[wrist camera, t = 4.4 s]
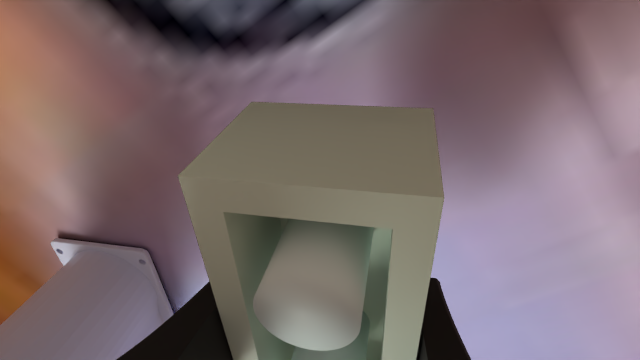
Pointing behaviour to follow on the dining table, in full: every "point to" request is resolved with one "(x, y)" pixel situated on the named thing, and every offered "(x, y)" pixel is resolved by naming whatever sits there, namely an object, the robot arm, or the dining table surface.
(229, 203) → the tray
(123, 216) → the dining table surface
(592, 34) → the dining table surface
